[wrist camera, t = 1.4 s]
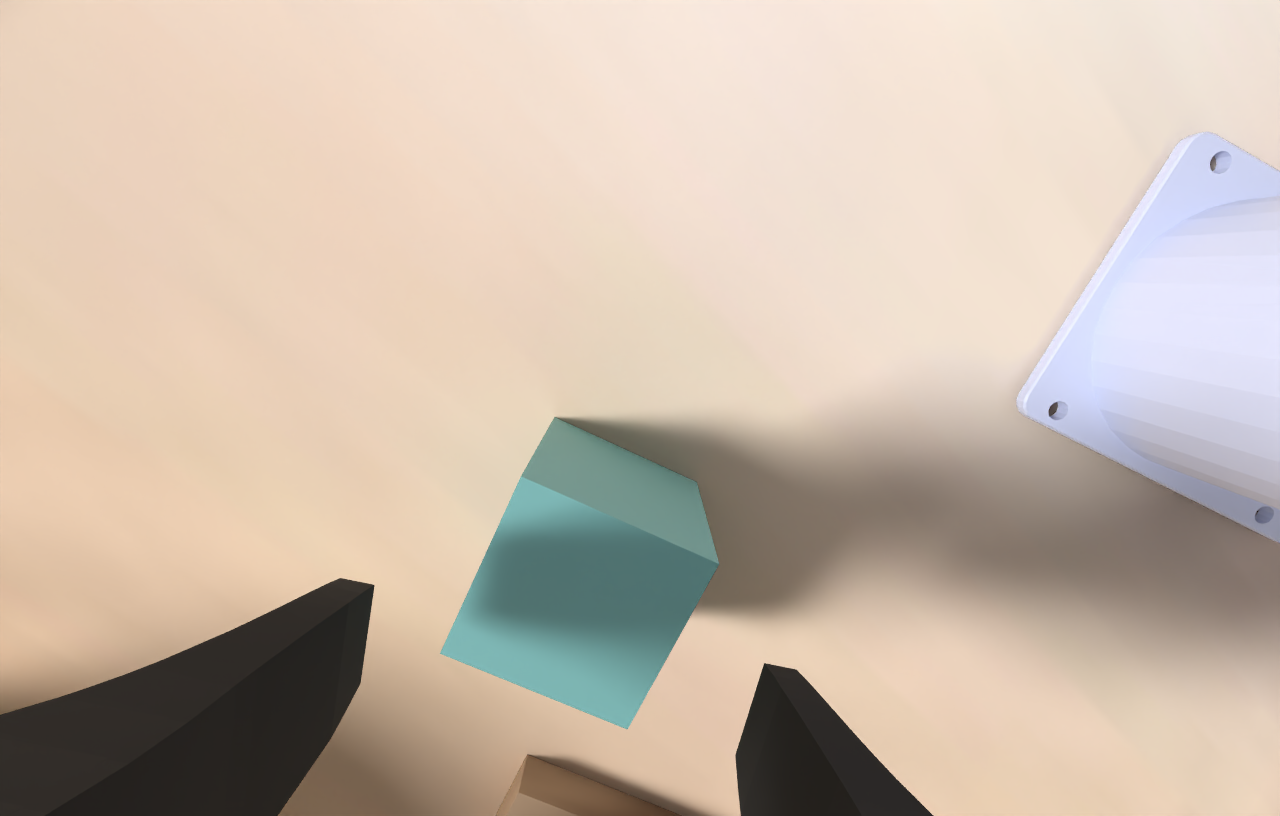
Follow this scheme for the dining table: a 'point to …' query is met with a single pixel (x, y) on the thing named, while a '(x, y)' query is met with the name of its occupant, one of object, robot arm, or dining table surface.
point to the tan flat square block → (568, 795)
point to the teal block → (587, 576)
